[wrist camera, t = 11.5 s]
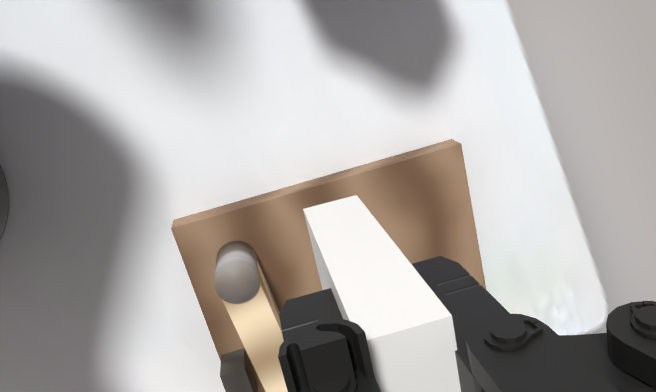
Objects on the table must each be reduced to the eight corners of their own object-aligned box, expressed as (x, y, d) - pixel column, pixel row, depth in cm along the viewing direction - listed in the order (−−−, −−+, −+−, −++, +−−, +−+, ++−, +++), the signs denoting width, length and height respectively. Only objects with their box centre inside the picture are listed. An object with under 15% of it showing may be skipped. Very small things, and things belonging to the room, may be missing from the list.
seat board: (245, 414, 49) (247, 454, 45) (174, 220, 43) (166, 242, 38) (486, 336, 51) (511, 366, 47) (451, 139, 45) (476, 151, 40)
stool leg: (209, 249, 42) (207, 273, 38) (247, 234, 42) (249, 256, 38) (281, 404, 47) (286, 440, 43) (315, 390, 47) (323, 424, 43)
